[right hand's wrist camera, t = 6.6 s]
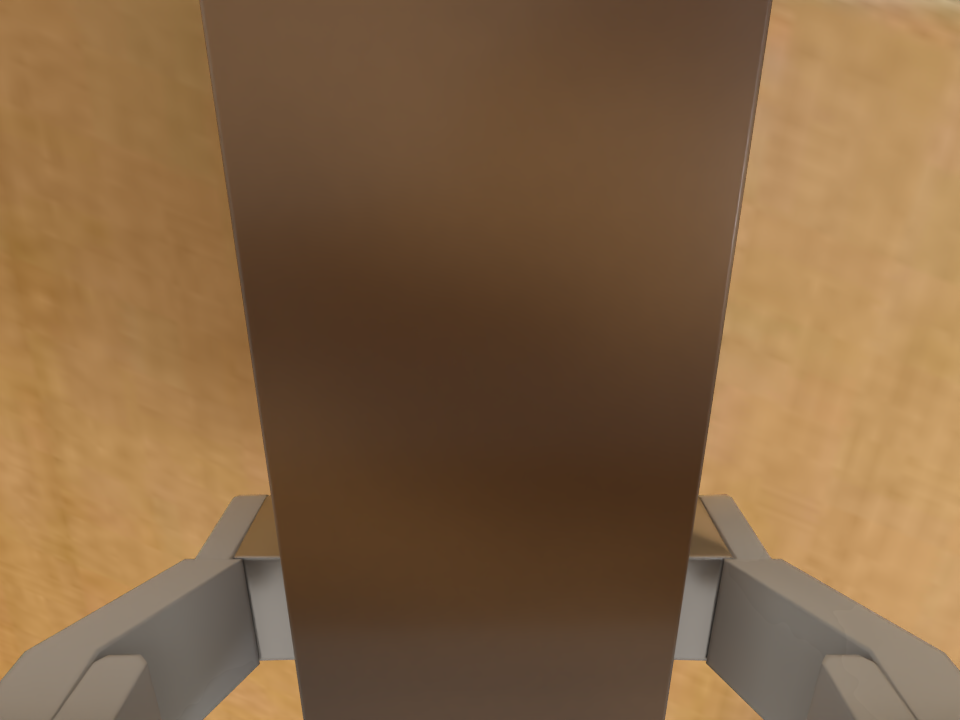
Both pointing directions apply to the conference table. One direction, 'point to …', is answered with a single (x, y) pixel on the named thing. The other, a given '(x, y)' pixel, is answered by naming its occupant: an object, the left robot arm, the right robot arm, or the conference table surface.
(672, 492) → the beam
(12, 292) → the conference table surface
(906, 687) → the right robot arm
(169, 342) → the conference table surface
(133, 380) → the conference table surface
